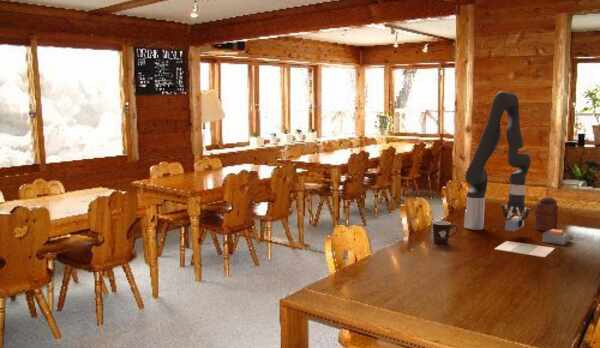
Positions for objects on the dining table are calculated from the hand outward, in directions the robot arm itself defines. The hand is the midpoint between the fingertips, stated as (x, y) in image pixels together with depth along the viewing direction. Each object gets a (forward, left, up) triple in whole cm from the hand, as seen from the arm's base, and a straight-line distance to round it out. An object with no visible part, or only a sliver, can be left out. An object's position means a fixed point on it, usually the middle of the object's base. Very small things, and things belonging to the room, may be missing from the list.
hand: (514, 226), depth 275 cm
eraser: (0, 0, -1) cm, 1 cm away
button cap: (+19, +4, -3) cm, 19 cm away
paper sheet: (+11, -20, -6) cm, 23 cm away
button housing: (+19, +4, -6) cm, 20 cm away
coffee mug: (-23, -33, -6) cm, 40 cm away
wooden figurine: (+9, +26, -6) cm, 29 cm away
